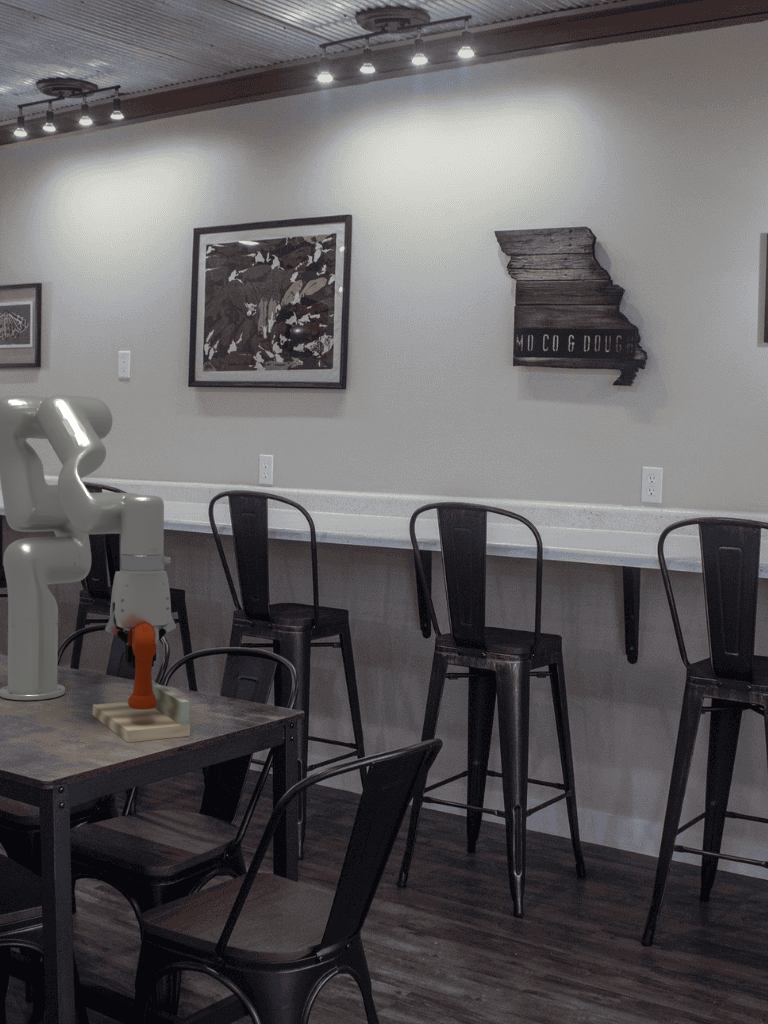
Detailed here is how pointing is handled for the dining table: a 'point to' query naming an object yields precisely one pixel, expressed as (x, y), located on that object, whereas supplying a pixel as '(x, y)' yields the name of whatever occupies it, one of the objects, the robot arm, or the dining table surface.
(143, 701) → the toy drill
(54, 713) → the dining table surface
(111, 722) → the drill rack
